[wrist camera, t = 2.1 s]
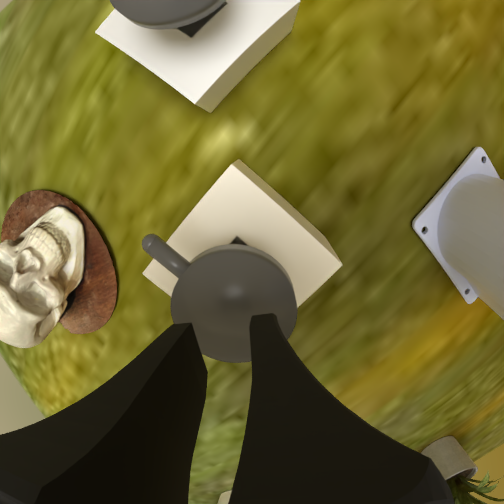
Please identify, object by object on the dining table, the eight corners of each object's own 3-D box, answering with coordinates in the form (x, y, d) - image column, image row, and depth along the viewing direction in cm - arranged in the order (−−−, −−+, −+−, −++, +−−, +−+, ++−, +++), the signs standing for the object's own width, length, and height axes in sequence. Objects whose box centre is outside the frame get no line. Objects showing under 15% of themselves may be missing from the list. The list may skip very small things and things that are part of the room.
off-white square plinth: (325, 236, 19) (342, 264, 15) (249, 311, 21) (247, 352, 16) (238, 158, 17) (231, 164, 13) (166, 244, 19) (142, 273, 15)
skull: (24, 146, 16) (5, 250, 10) (127, 201, 24) (160, 299, 19) (-26, 258, 19) (-32, 363, 13) (62, 287, 27) (80, 380, 22)
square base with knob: (291, 31, 15) (300, 0, 10) (210, 113, 16) (194, 104, 12) (204, -26, 13) (190, -61, 9) (128, 51, 15) (94, 32, 11)
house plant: (502, 387, 24) (562, 482, 9) (478, 445, 29) (515, 523, 13) (398, 435, 26) (438, 560, 11) (393, 482, 30) (416, 574, 15)
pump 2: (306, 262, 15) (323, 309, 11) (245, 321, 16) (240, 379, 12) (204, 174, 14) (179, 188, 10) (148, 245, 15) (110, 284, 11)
